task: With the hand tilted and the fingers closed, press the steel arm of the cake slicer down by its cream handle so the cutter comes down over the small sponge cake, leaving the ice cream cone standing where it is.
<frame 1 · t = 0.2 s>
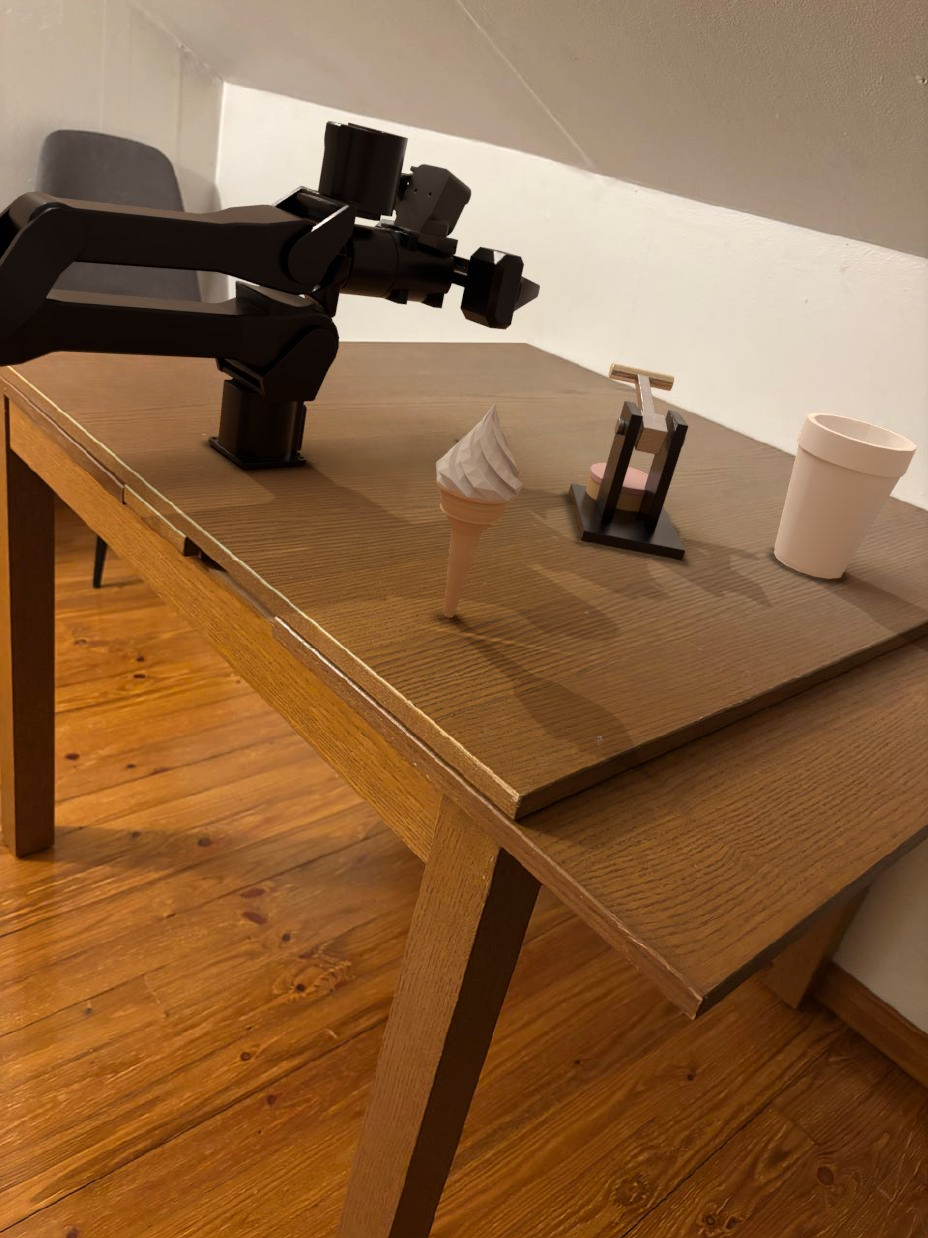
hand: (505, 280, 96), 17 cm above the table, tool horizontal, fingers open, 9 cm apart
slicer: (621, 526, 90), on the table
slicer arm: (645, 405, 89), point 10 cm above the table, hinge at 15.0°
foam cup: (806, 567, 91), on the table
ice cream cone: (446, 620, 67), on the table
cake: (615, 509, 94), resting on slicer
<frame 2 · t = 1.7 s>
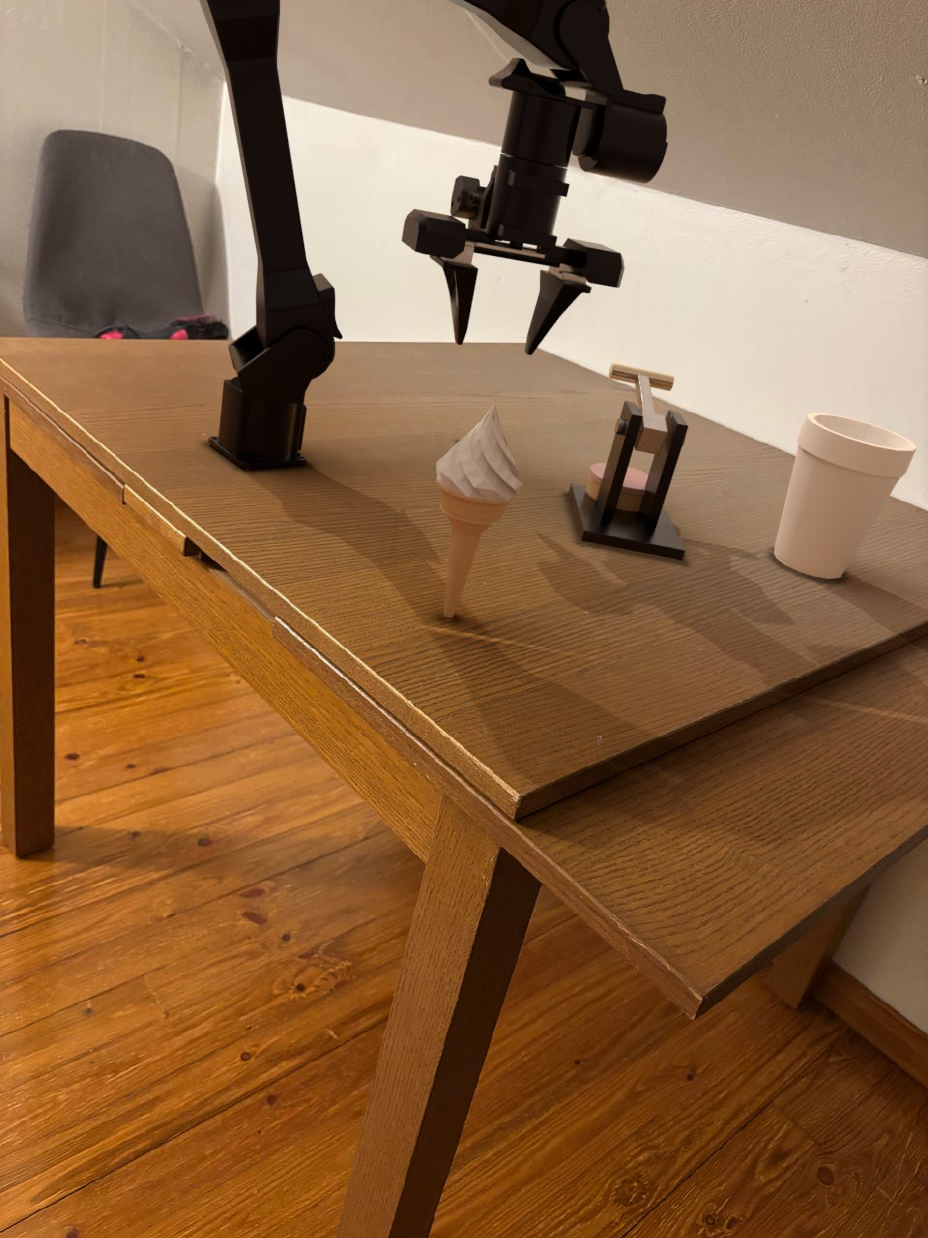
hand: (493, 348, 88), 12 cm above the table, tool pointing down, fingers open, 6 cm apart
nothing on the table moved.
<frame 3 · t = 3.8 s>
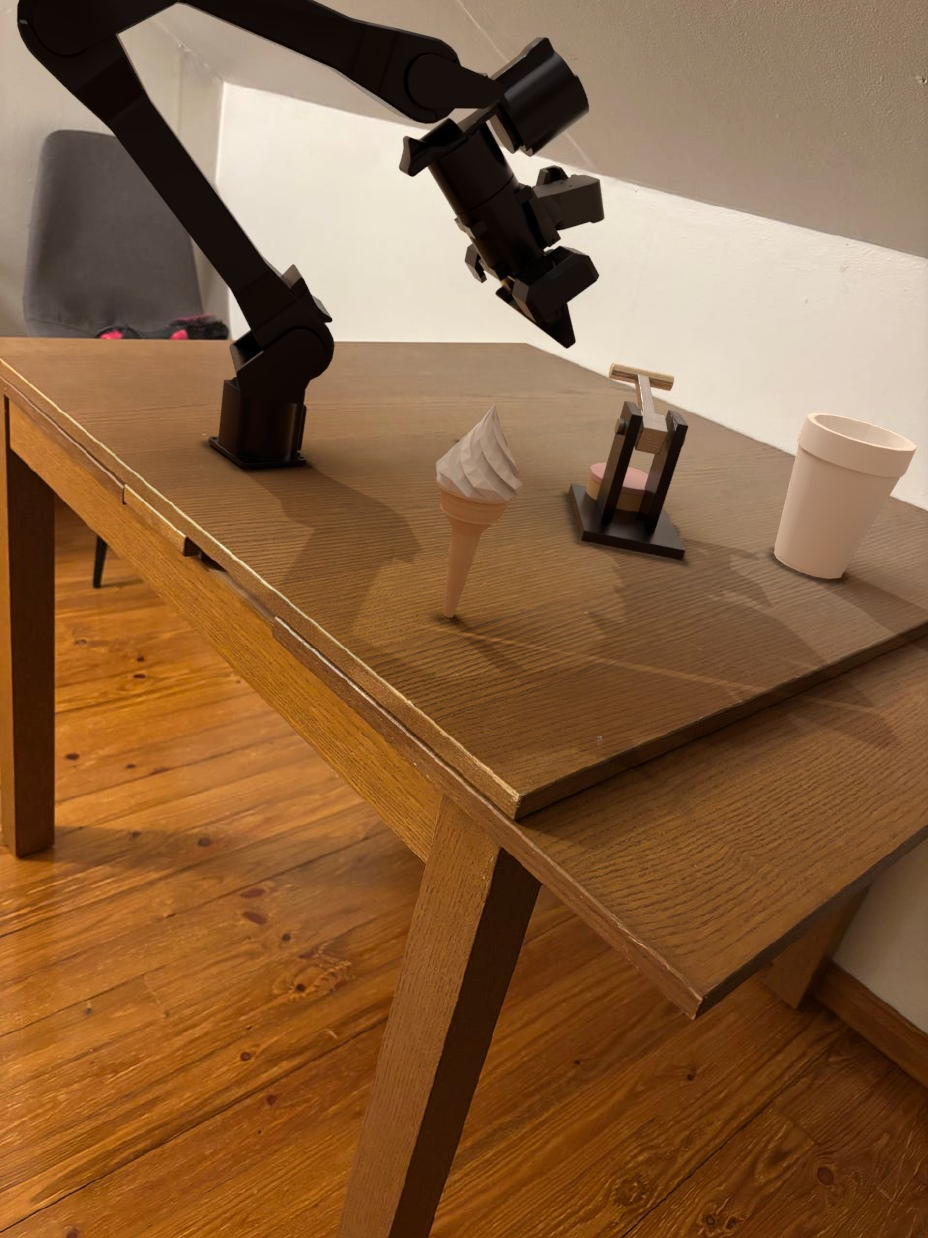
hand: (570, 344, 89), 14 cm above the table, tool tilted 45°, fingers closed
nothing on the table moved.
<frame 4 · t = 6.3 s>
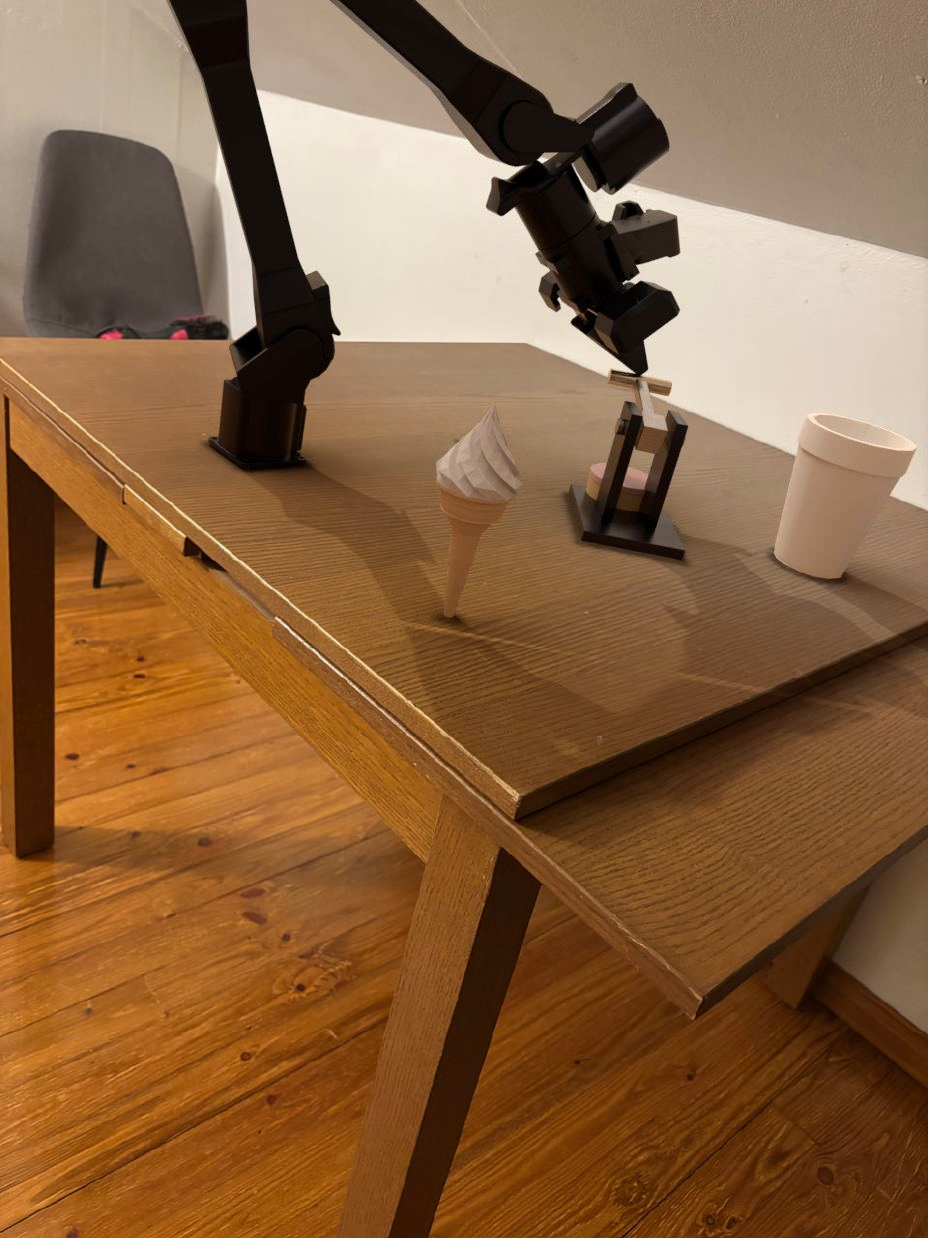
hand: (642, 371, 93), 12 cm above the table, tool tilted 45°, fingers closed
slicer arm: (644, 408, 89), point 10 cm above the table, hinge at 11.7°, touching gripper
everything else where it was.
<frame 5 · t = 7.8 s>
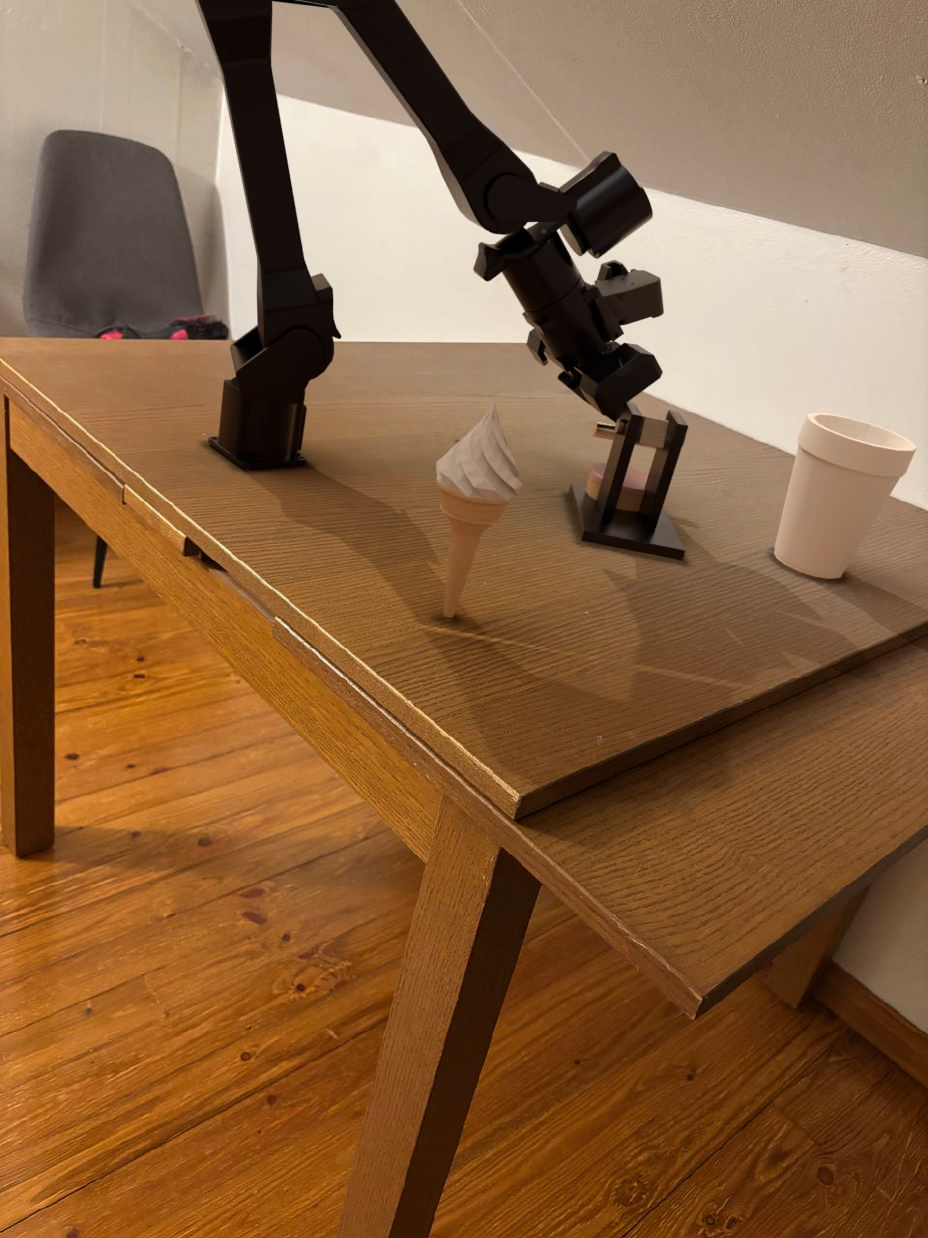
hand: (628, 425, 95), 7 cm above the table, tool tilted 45°, fingers closed, pressing on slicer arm
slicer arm: (637, 433, 90), point 8 cm above the table, hinge at -18.2°, touching gripper
everything else where it was.
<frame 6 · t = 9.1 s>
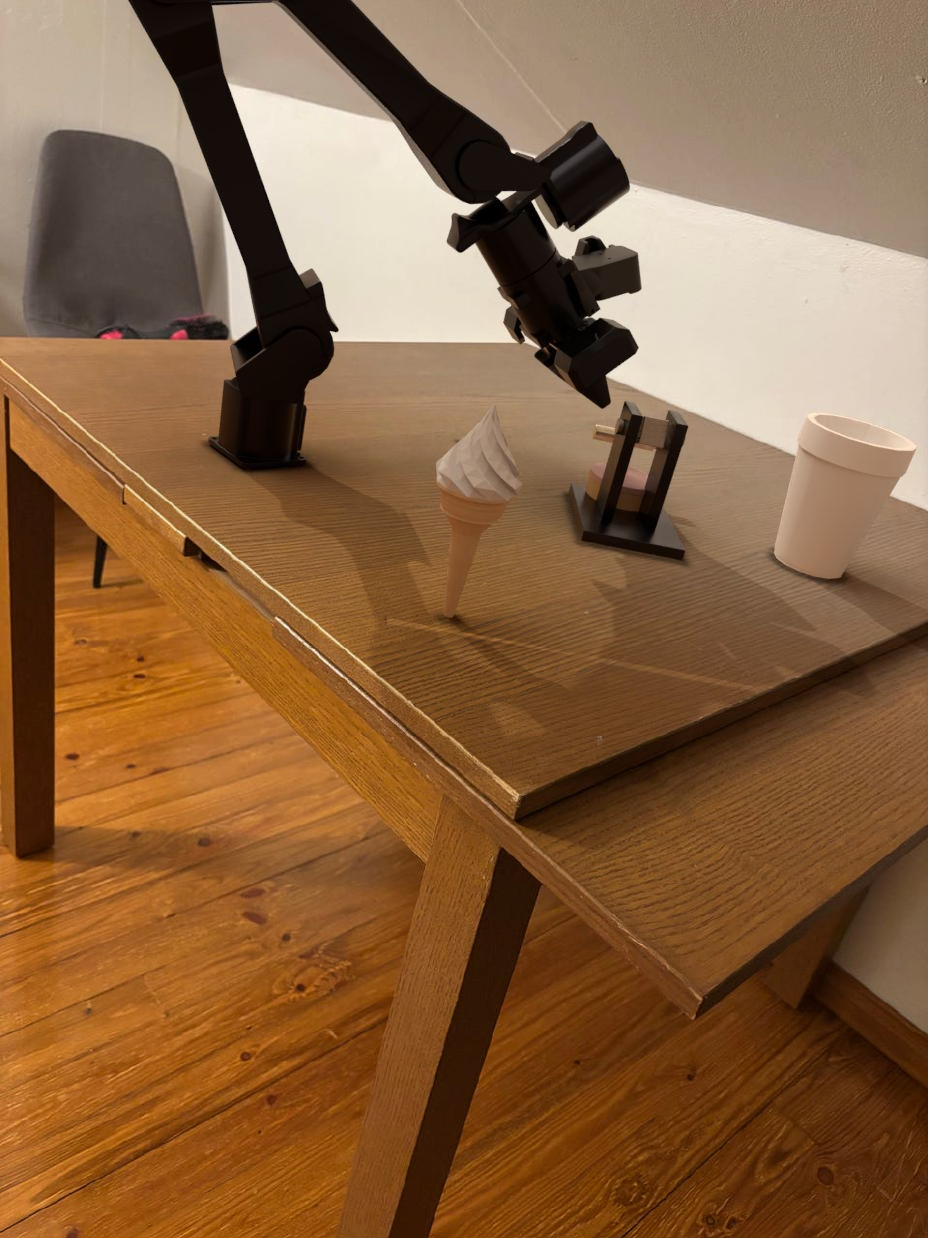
hand: (605, 405, 93), 9 cm above the table, tool tilted 45°, fingers closed
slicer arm: (637, 435, 90), point 7 cm above the table, hinge at -19.7°
everything else where it was.
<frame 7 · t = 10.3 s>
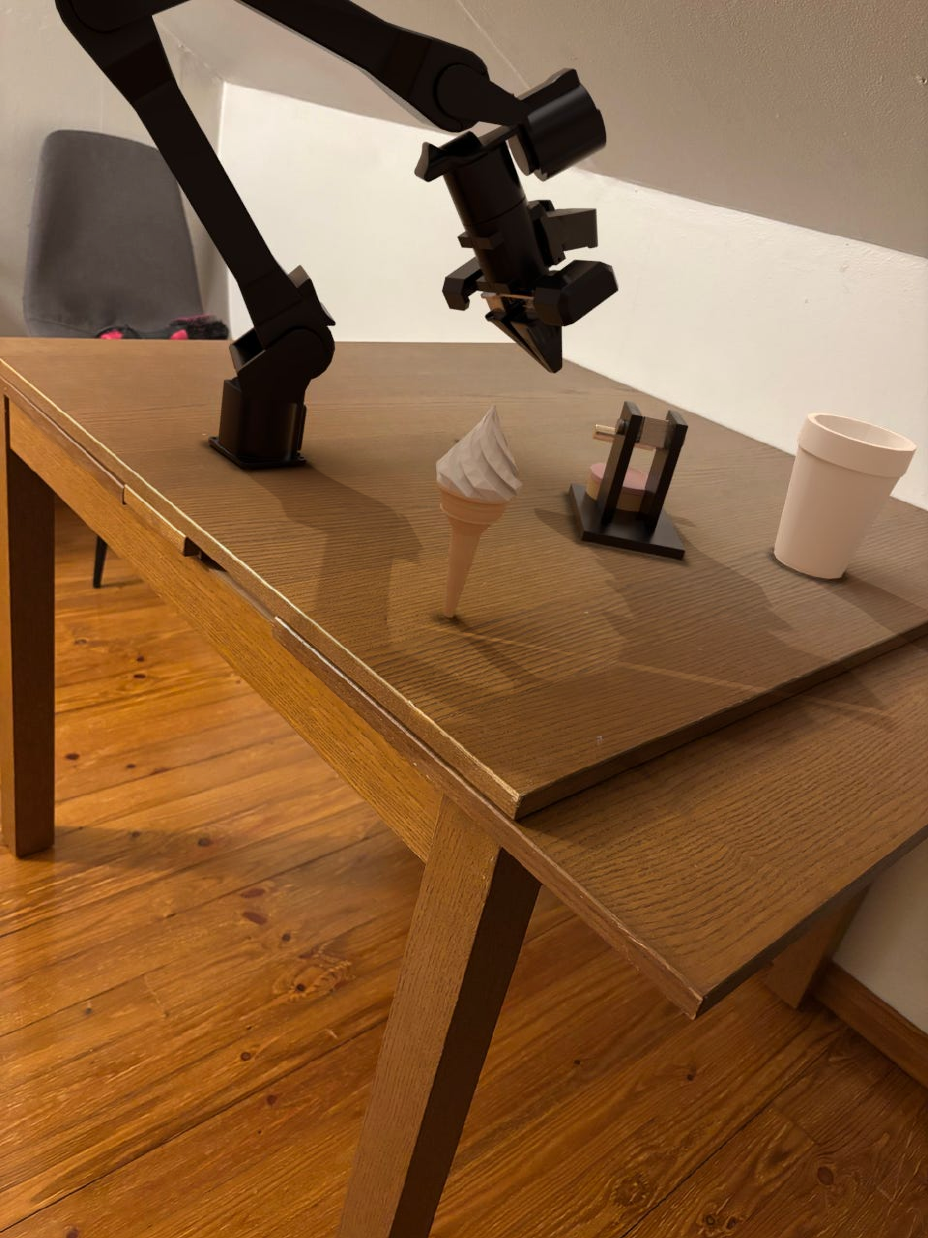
hand: (556, 370, 91), 11 cm above the table, tool tilted 35°, fingers closed
nothing on the table moved.
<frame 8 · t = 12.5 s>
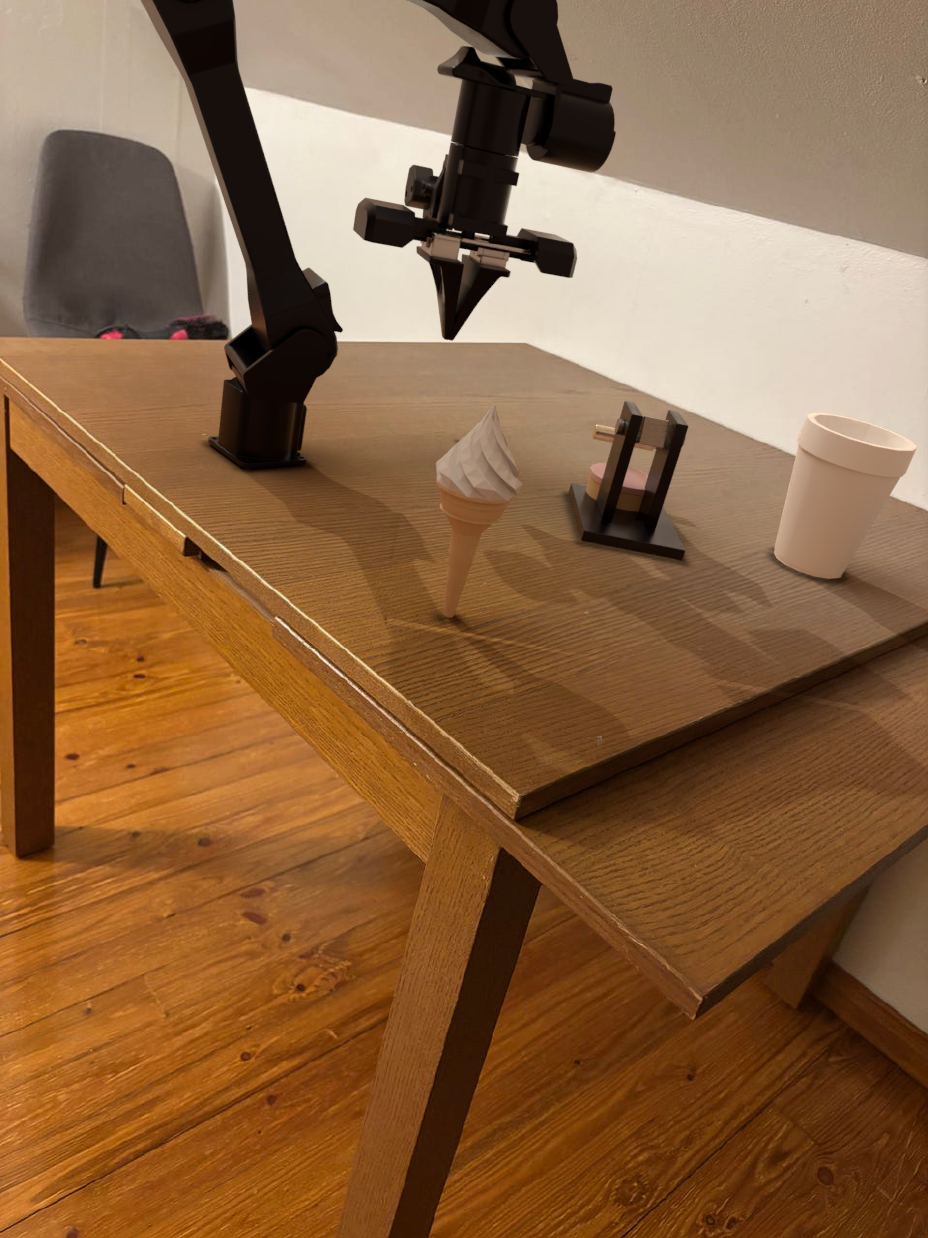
hand: (447, 338, 88), 12 cm above the table, tool pointing down, fingers closed
nothing on the table moved.
at the end: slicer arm at -20° (first picture: +15°); ice cream cone moved 0.2 cm from its start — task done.
